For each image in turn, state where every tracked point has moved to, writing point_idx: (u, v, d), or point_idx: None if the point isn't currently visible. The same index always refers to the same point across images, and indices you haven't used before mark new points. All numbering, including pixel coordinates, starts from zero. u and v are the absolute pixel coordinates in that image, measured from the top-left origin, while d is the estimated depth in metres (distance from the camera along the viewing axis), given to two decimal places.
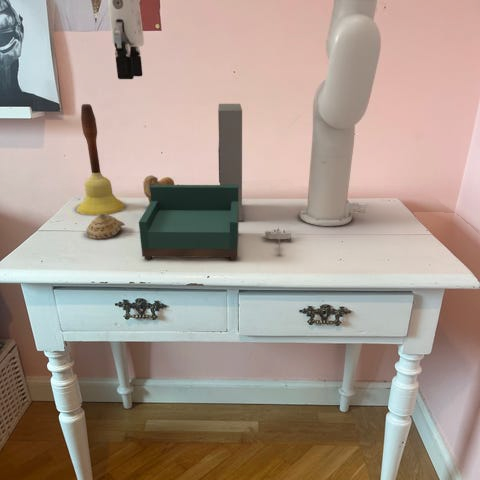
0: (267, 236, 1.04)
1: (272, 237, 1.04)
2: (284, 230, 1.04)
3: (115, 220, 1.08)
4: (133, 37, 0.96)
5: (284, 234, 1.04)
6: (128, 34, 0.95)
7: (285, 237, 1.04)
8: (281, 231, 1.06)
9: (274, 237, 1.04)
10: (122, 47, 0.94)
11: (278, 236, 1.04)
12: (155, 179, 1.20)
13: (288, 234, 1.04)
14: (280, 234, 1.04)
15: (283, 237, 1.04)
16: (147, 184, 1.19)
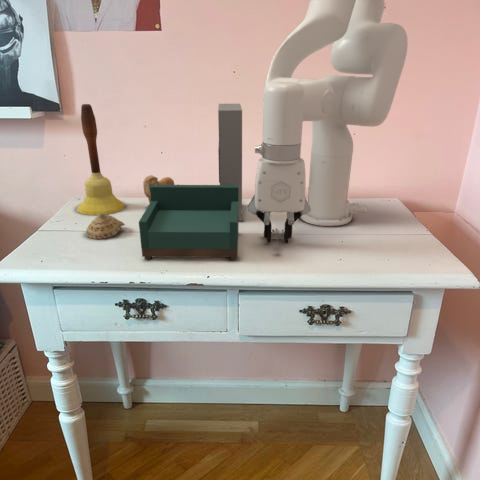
0: None
1: None
2: (282, 230, 1.04)
3: (115, 220, 1.08)
4: (256, 204, 0.96)
5: (282, 234, 1.04)
6: None
7: (283, 237, 1.04)
8: (280, 231, 1.06)
9: (272, 237, 1.04)
10: (257, 215, 1.00)
11: (276, 236, 1.04)
12: (155, 179, 1.20)
13: None
14: (278, 234, 1.04)
15: (281, 237, 1.04)
16: (147, 184, 1.19)
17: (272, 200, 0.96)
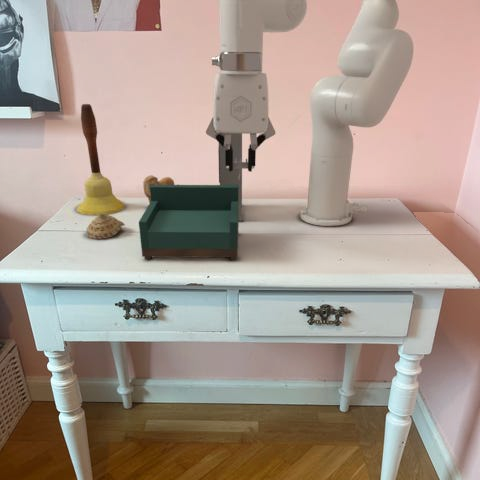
0: (228, 166, 0.96)
1: (233, 166, 0.95)
2: (246, 159, 0.95)
3: (115, 220, 1.08)
4: (214, 124, 0.88)
5: (246, 163, 0.95)
6: None
7: (247, 166, 0.95)
8: None
9: (235, 166, 0.95)
10: (216, 139, 0.91)
11: (239, 165, 0.95)
12: (155, 179, 1.20)
13: None
14: (242, 163, 0.95)
15: (245, 166, 0.95)
16: (147, 184, 1.19)
17: (232, 119, 0.87)
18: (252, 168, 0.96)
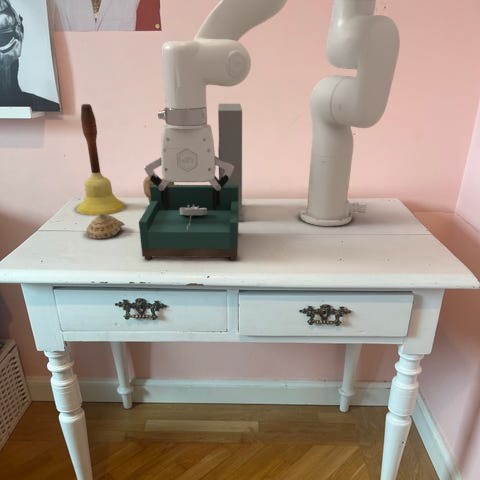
0: (180, 212, 1.00)
1: (185, 213, 0.99)
2: (198, 206, 0.99)
3: (115, 220, 1.08)
4: (162, 173, 0.91)
5: (198, 210, 0.99)
6: (162, 170, 0.92)
7: (199, 213, 0.99)
8: (197, 207, 1.01)
9: (187, 213, 0.99)
10: None
11: (191, 212, 0.99)
12: None
13: (202, 210, 0.99)
14: (193, 210, 0.99)
15: (197, 213, 0.99)
16: (147, 184, 1.19)
17: (179, 169, 0.90)
18: (204, 214, 0.99)
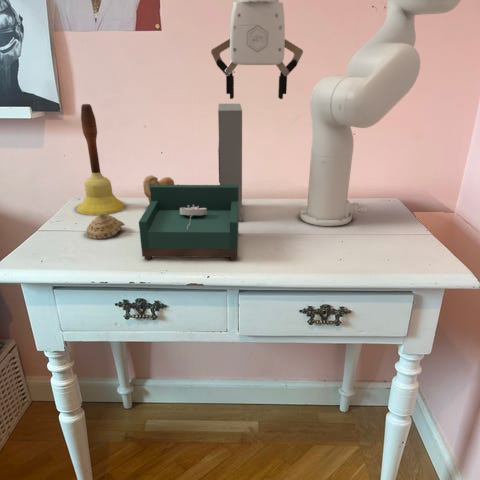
0: (180, 212, 1.00)
1: (185, 213, 0.99)
2: (198, 206, 0.99)
3: (115, 220, 1.08)
4: (230, 55, 0.89)
5: (198, 210, 0.99)
6: (230, 52, 0.89)
7: (199, 213, 0.99)
8: (197, 207, 1.01)
9: (187, 213, 0.99)
10: None
11: (191, 212, 0.99)
12: (155, 179, 1.20)
13: (202, 210, 0.99)
14: (193, 210, 0.99)
15: (197, 213, 0.99)
16: (147, 184, 1.19)
17: (248, 49, 0.88)
18: (204, 214, 0.99)
